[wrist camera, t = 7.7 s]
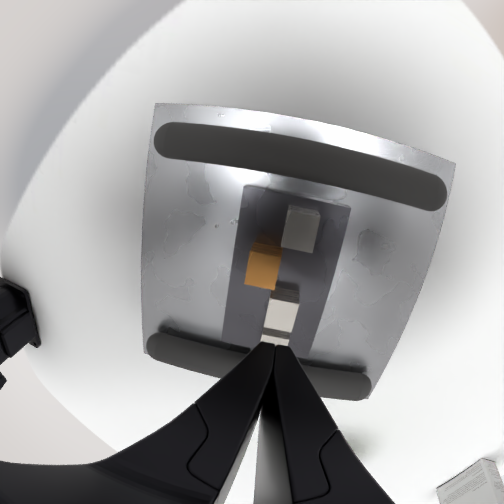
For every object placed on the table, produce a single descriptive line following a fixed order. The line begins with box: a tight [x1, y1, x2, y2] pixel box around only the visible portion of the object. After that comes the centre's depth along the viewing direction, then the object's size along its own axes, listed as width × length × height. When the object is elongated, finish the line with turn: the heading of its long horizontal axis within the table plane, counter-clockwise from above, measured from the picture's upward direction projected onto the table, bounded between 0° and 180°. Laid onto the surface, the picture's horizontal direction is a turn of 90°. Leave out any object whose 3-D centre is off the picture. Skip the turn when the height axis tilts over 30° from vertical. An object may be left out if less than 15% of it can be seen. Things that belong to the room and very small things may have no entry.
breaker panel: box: [141, 103, 456, 399], centre depth 14 cm, size 14×14×4 cm
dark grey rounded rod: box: [146, 332, 372, 401], centre depth 14 cm, size 13×2×2 cm, turn 81°
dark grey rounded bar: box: [154, 122, 447, 211], centre depth 11 cm, size 13×2×2 cm, turn 81°
